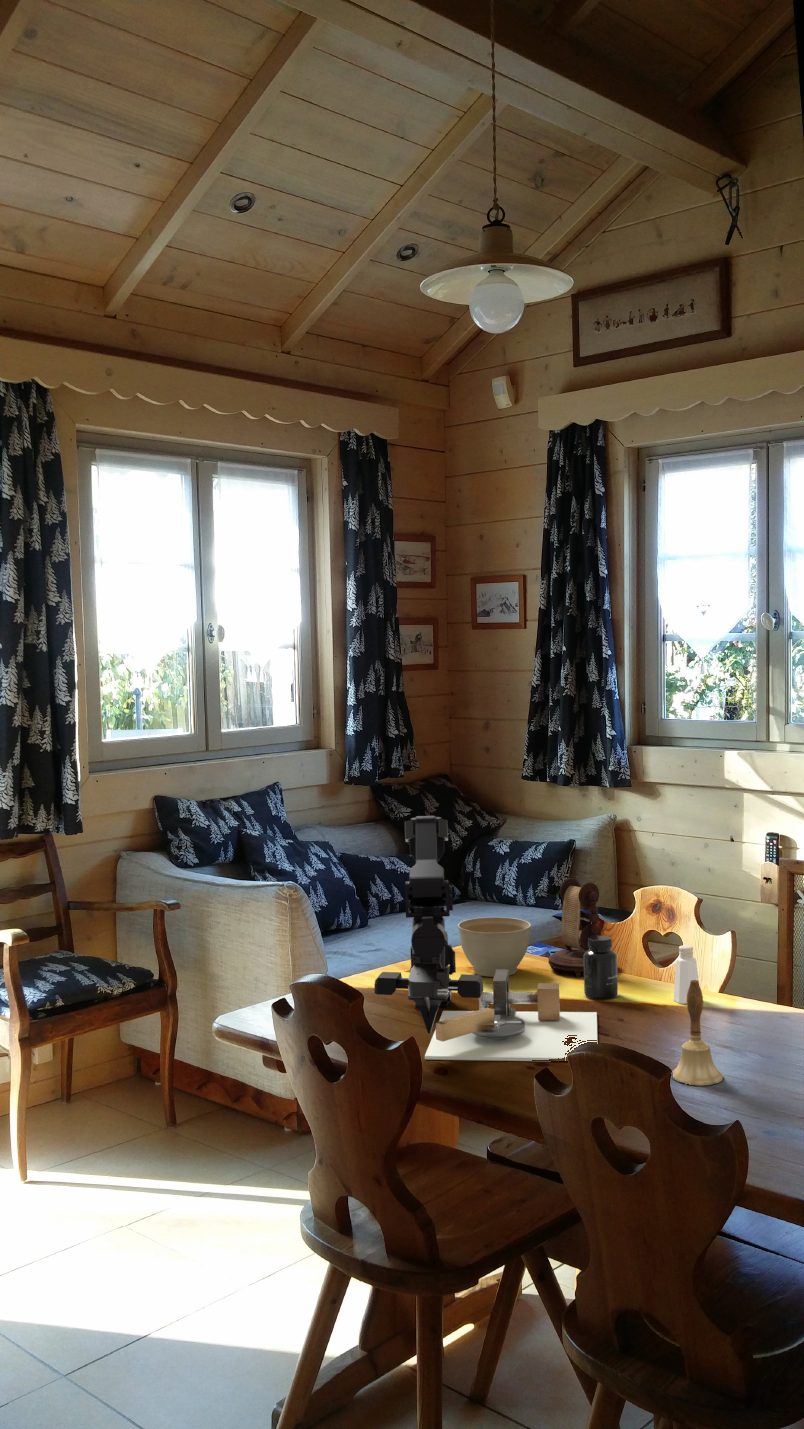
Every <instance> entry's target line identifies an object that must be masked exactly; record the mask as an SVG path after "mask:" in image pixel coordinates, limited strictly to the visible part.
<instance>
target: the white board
mask: <svg viewBox="0 0 804 1429" xmlns="http://www.w3.org/2000/svg"><path fill="white" fill-rule="evenodd" d="M474 1011H475V1010H443V1011H442V1013H441V1016H440V1018H439V1021H443V1020H446V1019H450V1018H453V1017H457V1016H460V1015H463V1014H467V1013H470V1012H474ZM597 1015H598V1012H597V1011H560V1020H538V1011H517V1010H515V1014H514V1017H518V1018H520V1019H522V1020H523V1021H524V1022H525V1031H524V1032H523V1033H522V1034H520V1035H517V1036H513V1037H508V1038H486V1037H480V1036H477V1035H474V1034H473V1033H470V1034H466V1035H463V1036H460V1037H456V1038H453V1039H450V1040H447V1041H443V1042H442V1041H439V1040H436V1029H435V1030H434V1032H433V1035H432V1037H431V1040H430V1043H429V1045H428V1047H427V1049H426V1052H425V1054H424V1060H434V1061H436V1060H444V1061H451V1060H452V1061H499V1062H500V1061H501V1062H503V1061H505V1062H506V1061H507V1062H508V1061H509V1062H511V1061H512V1062H513V1061H514V1062H533V1061H532V1060H549V1059H558V1058H559V1059H562V1058H564V1057H565V1061H566V1057H567V1054H568V1053H569V1052H571V1051H572V1050H574V1048H576V1047H578V1046H579V1045H581V1044H584V1043H587V1042H597V1043H598V1016H597ZM439 1021H438V1022H439ZM568 1035H577V1036H568ZM567 1036H568V1037H567ZM569 1037H575V1038H577V1039H576V1040H575V1039H572V1041H573V1042H576V1043H570V1044H569V1045H571V1044H572V1046H569V1045H568V1046H567V1045H564V1042H565V1041H567V1039H565V1038H569ZM579 1040H581V1041H579ZM587 1040H597V1041H587ZM562 1041H564V1042H562ZM577 1041H578V1042H577ZM582 1041H586V1042H582ZM580 1042H582V1043H580ZM578 1043H580V1044H578ZM566 1044H567V1043H566ZM574 1045H576V1046H574ZM573 1046H574V1047H573ZM571 1047H573V1048H572V1049H571V1050H570V1048H571ZM568 1050H569V1052H567V1051H568ZM565 1053H567V1054H566V1055H565Z"/></svg>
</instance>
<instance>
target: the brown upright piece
mask: <svg viewBox="0 0 804 1429" xmlns="http://www.w3.org/2000/svg"><path fill="white" fill-rule="evenodd" d="M559 894H560V897H561V900H562V901H563V902H562V909H561V914H562V915H561V939H562V942H563V943H564V946H565V948H564V949H561V950H557V951H556V952H554V953H552V954H551V955H549V956H548V965H549V966H550V968H551V969H558V970H561V971H567V972H568V971H569V972H575V975H576V978H580V977H581V973H582V972H584V953H585V952H586V951H587V950H589V947H588V938H589V937H591V936H602V935H601V934H602V932H601V930H600V928H599V926H598V922H599V920H600V916H599V914H598V913H597V912H598V908H597V903H598V901H599V899H600V898H599V897H600V889H599V887H598V886H597V885H596V884H595V883H593V882H590V881H589V882H585V883H584V884H583V885H582V886H581V885H580V882H579V880H577V879H576V878H573V877H571V878H570V877H569V878H567V879H565V880H564V881H563V883H561V885H560V890H559ZM589 911H590V912H589ZM581 919H585V920H589V922H590V923H589V924H587V925H586V926H584V927H583V926H582V924H581Z"/></svg>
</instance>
